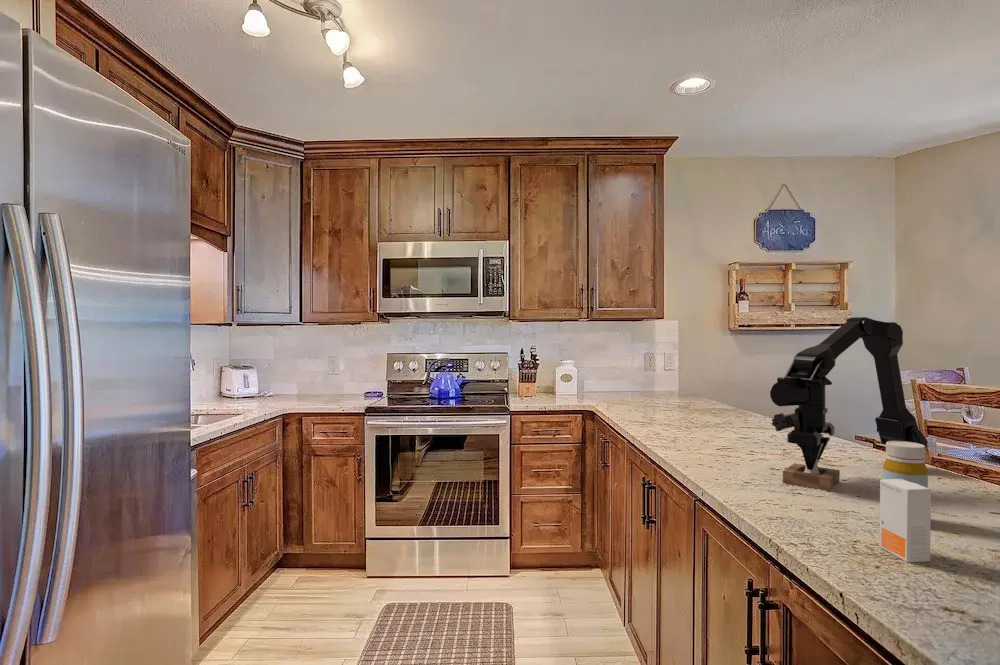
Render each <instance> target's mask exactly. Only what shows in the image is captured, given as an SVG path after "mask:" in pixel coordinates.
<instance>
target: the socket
mask: <svg viewBox="0 0 1000 665" xmlns="http://www.w3.org/2000/svg"><path fill="white" fill-rule="evenodd" d="M805 468H806V464H803V463H802V464H801V463H796V462H794V463H793V464H791V465H790V466H788V467H786V468H785V469H783V470H782V484H784V483H785V484H784V485H789V484H790V485H791V486H795V485H797V487H800V486H803V487H802V488H806V487H808V488H807V489H812V488H814V489H813V490H817V489H820V490H819V491H823V490H825V491H824V492H829V491H830V492H831V491H832V490H834V488H835V487H837V486H838V485H839V483H840V480H841V478H840V477H841V476H840V475H841V474H840V469H835V468H828V467H820V466H818V471H819V473H820V475H818V474H812V473H806V472H804V471H805Z"/></svg>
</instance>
